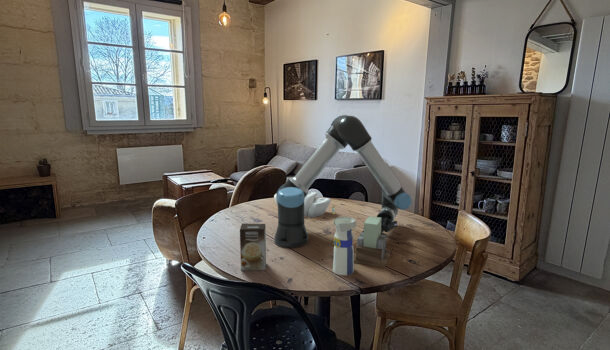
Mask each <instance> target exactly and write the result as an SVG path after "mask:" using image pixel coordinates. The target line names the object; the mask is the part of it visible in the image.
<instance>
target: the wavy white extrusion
mask: <svg viewBox="0 0 610 350" xmlns="http://www.w3.org/2000/svg"><path fill="white" fill-rule="evenodd" d="M276 195H277V192H276V193H275V194H274V196H273V198H274V201H275V204H276V206H277V208H278V204H277V198H276ZM331 202H332V199H331V198H329V197H318V192H317V191H316V192H315V191H314V192H313V191H312V192H310V194H309V193H308V194H307V196H306V197H305V200H304V216H305V217H307V218H316V217H320V216H323V215H324V214H325V213H326V211H327V209H328V207H329V206H330V203H331ZM305 217H304V218H305Z"/></svg>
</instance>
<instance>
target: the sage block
mask: <svg viewBox="0 0 610 350" xmlns="http://www.w3.org/2000/svg"><path fill="white" fill-rule="evenodd" d="M363 231H364V241H363V247H370V248H376V249H377V241H378V239H379V237H380V235H381V218H380V217H377V216H370V215H368V217H367V218H366V219H365V221H364V222H363Z"/></svg>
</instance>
